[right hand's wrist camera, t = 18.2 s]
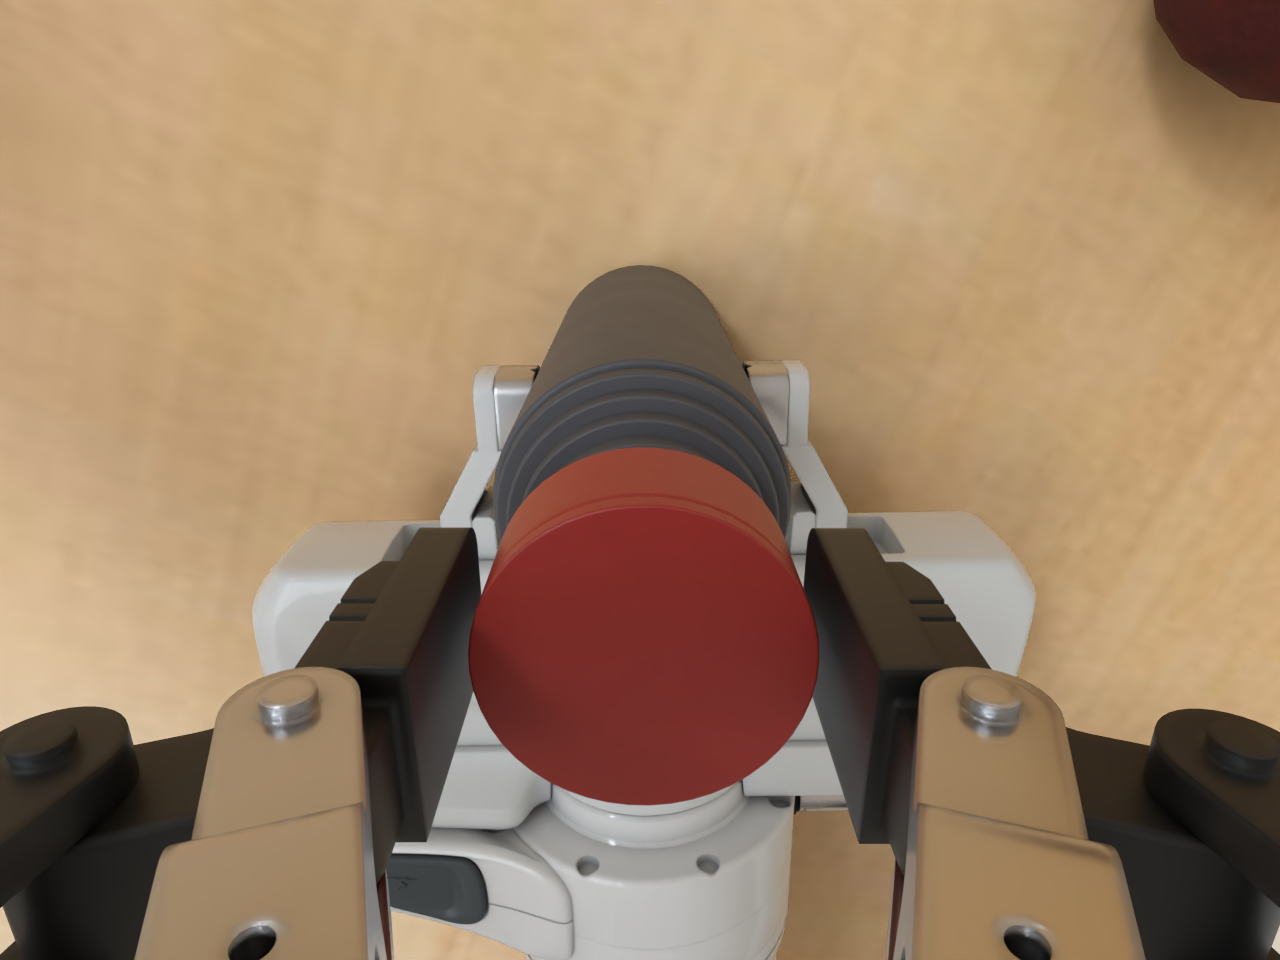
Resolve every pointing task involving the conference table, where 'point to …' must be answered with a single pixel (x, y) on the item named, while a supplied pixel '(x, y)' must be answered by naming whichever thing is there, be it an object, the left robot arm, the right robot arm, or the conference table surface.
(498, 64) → the conference table surface
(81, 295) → the conference table surface
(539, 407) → the bottle
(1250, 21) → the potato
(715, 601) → the cap
